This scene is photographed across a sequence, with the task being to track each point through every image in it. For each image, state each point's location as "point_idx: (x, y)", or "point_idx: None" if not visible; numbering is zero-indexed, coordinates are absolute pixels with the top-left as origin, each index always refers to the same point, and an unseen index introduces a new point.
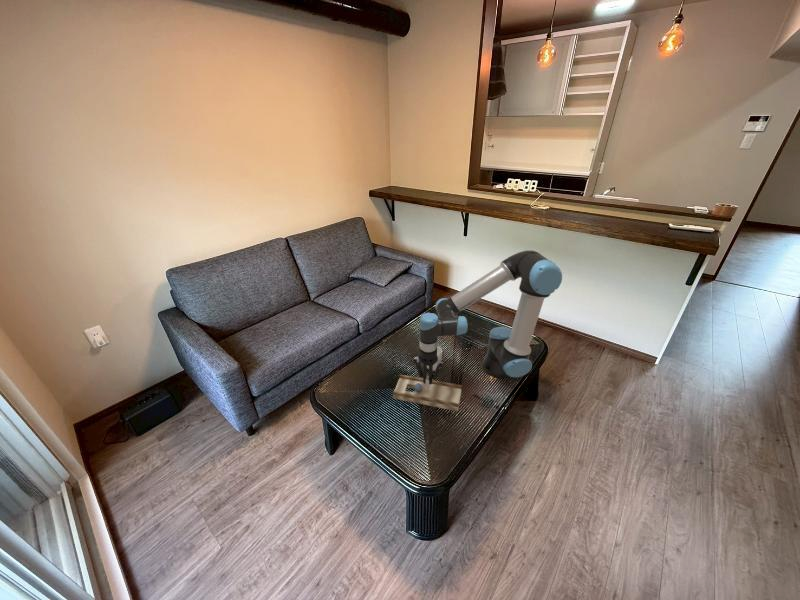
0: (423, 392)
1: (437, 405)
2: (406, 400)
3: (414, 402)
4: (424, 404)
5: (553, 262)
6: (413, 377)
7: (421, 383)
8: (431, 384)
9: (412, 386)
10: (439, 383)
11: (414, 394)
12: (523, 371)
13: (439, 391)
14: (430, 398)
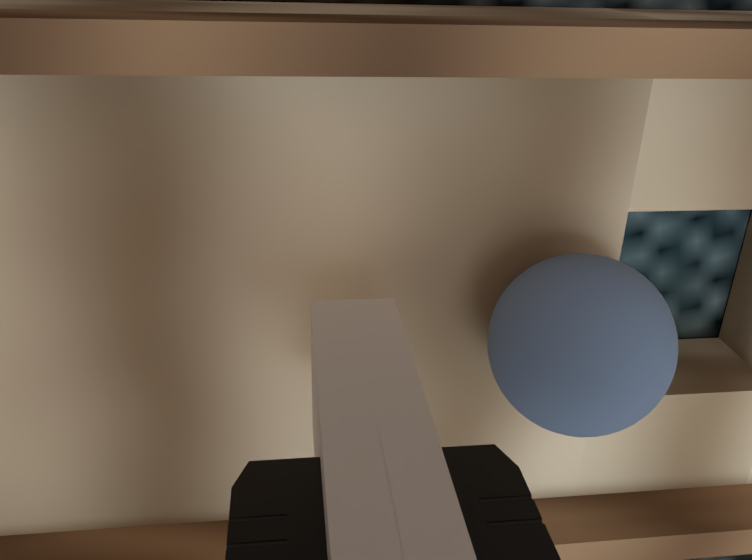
0: (428, 262)
1: (25, 3)
2: (739, 13)
3: (566, 8)
4: (346, 4)
5: None
6: (691, 545)
7: None
8: None
9: None
10: (137, 557)
11: (621, 153)
12: None
13: (84, 377)
14: (198, 59)
